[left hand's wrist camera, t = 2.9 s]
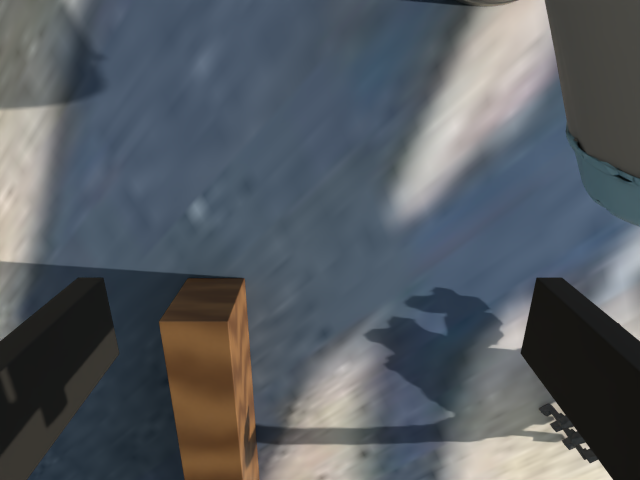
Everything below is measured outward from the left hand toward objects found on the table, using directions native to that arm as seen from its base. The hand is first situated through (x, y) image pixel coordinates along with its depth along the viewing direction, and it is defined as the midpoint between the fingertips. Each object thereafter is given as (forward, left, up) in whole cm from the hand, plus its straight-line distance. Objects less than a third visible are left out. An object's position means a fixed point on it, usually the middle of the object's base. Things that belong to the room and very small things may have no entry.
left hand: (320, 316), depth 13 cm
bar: (+28, +13, -27) cm, 41 cm away
